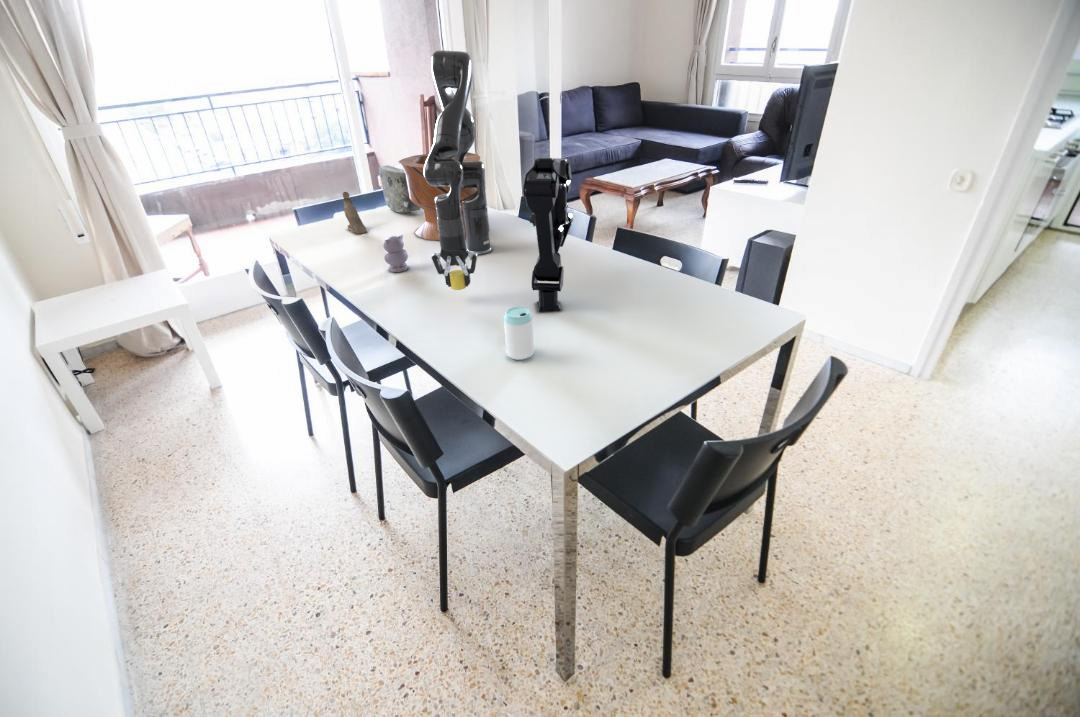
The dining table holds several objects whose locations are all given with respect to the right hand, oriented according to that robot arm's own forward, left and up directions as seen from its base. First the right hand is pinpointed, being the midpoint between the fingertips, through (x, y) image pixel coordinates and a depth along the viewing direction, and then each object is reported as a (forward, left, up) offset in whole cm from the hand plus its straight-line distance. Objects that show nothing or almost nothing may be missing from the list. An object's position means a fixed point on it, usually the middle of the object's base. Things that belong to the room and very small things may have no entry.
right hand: (558, 251), depth 160 cm
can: (-45, +15, -11) cm, 49 cm away
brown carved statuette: (+74, +83, -11) cm, 111 cm away
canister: (-9, +32, -6) cm, 34 cm away
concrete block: (+104, +67, -11) cm, 124 cm away
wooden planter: (+67, +41, -11) cm, 79 cm away
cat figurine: (+22, +56, -11) cm, 61 cm away
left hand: (-9, +32, -6) cm, 34 cm away
